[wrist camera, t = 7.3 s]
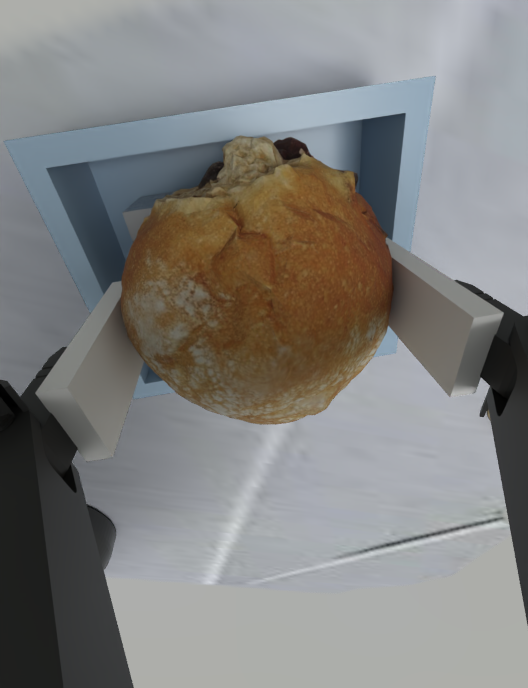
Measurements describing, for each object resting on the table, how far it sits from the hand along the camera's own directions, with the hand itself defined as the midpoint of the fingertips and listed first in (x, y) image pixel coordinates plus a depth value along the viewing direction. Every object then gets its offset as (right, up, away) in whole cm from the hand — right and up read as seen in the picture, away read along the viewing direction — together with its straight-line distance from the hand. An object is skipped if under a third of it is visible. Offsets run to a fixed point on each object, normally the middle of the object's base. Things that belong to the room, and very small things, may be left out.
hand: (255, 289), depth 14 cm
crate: (-1, +4, +6) cm, 7 cm away
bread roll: (0, +1, 0) cm, 1 cm away
